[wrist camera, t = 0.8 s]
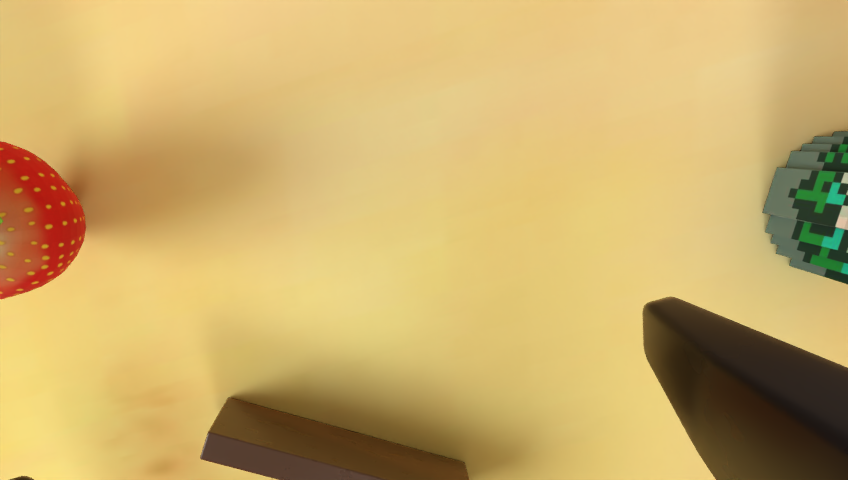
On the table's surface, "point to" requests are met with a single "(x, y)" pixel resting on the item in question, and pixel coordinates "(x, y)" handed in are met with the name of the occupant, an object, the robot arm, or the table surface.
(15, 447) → the table surface
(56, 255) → the fruit
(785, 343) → the robot arm
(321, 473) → the backboard
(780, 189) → the can
